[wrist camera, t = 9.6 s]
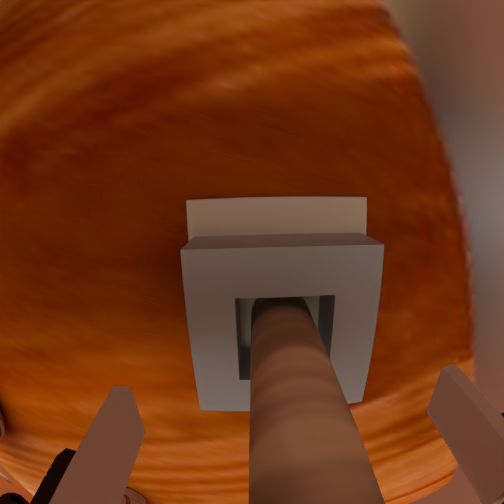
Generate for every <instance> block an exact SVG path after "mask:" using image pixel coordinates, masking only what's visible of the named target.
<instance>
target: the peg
mask: <svg viewBox="0 0 504 504" xmlns="http://www.w3.org/2000/svg"><path fill="white" fill-rule="evenodd" d="M249 504H385V503H384V500H383V497H382V494H381V491H380V489H379V486H378V483H377V480H376V478H375V475H374V472H373V469H372V467H371V464H370V461H369V458H368V456H367V453H366V450H365V448H364V445H363V442H362V440H361V437H360V435H359V432H358V429H357V427H356V424H355V422H354V419H353V416H352V414H351V411H350V409H349V406H348V404H347V401H346V398H345V396H344V393H343V391H342V388H341V386H340V383H339V381H338V378H337V376H336V373H335V371H334V369H333V366H332V364H331V361H330V359H329V356H328V354H327V351H326V349H325V347H324V344H323V342H322V339H321V337H320V334H319V332H318V330H317V327H316V325H315V322H314V320H313V318H312V315H311V313H310V311H309V308H308V306H307V304H306V301H305V299H304V298H303V297H302V296H299V297H273V298H256V300H255V301H254V303H253V306H252V310H251V364H250V444H249Z"/></svg>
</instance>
